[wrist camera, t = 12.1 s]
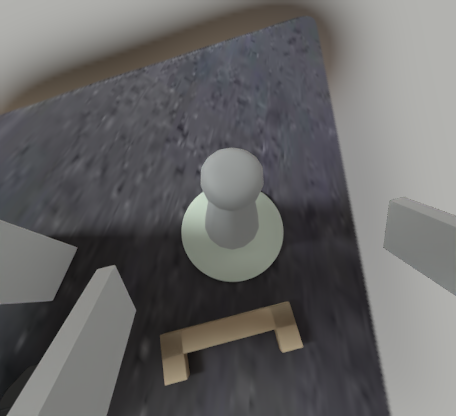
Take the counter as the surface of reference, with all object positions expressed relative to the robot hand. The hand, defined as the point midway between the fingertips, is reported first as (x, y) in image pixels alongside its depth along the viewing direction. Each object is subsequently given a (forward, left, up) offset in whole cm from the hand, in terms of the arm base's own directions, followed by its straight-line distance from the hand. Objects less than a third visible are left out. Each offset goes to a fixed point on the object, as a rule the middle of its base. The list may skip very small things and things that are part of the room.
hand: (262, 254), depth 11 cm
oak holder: (+2, -6, -15) cm, 16 cm away
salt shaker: (-4, +4, -15) cm, 16 cm away
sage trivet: (-4, +4, -15) cm, 16 cm away
